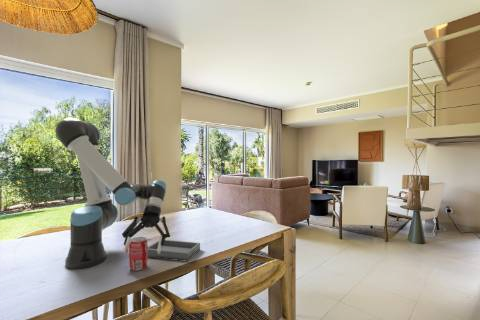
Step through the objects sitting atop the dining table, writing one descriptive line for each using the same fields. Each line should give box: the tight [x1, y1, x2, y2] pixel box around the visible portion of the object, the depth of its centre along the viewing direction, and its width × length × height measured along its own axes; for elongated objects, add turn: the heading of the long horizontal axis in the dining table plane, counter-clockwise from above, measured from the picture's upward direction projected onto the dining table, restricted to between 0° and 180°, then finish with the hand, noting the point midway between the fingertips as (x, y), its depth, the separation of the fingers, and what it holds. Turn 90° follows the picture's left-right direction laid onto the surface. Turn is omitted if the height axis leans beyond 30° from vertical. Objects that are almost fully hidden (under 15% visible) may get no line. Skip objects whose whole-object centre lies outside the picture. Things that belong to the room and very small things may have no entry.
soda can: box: [128, 236, 149, 272], centre depth 100 cm, size 7×7×12 cm
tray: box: [148, 239, 201, 262], centre depth 116 cm, size 22×14×4 cm, turn 77°
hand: (141, 252), depth 100 cm, fingers open, 13 cm apart
